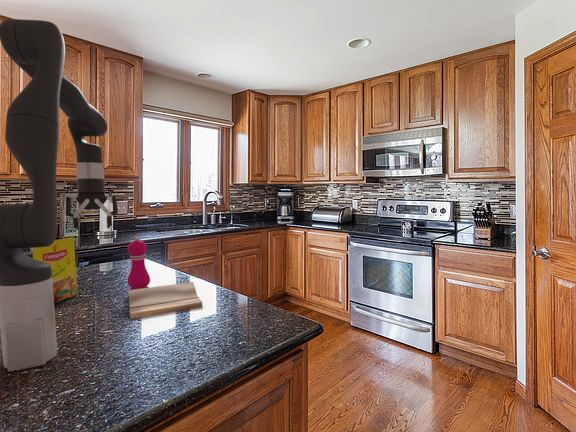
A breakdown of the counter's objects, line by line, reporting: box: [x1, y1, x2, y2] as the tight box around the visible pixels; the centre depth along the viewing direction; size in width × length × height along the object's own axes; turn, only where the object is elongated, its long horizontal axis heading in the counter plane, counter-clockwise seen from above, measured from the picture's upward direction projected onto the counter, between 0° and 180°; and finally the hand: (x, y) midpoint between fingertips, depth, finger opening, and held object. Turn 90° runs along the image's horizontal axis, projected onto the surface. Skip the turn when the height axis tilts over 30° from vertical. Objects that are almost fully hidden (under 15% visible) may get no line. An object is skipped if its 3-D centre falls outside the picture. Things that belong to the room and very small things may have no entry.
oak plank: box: [129, 296, 203, 320], centre depth 102 cm, size 5×20×2 cm, turn 118°
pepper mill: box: [126, 235, 151, 290], centre depth 118 cm, size 7×7×20 cm
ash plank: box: [128, 281, 199, 307], centre depth 107 cm, size 7×20×2 cm
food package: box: [32, 236, 78, 304], centre depth 110 cm, size 15×1×20 cm, turn 168°
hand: (93, 228), depth 109 cm, fingers open, 8 cm apart
